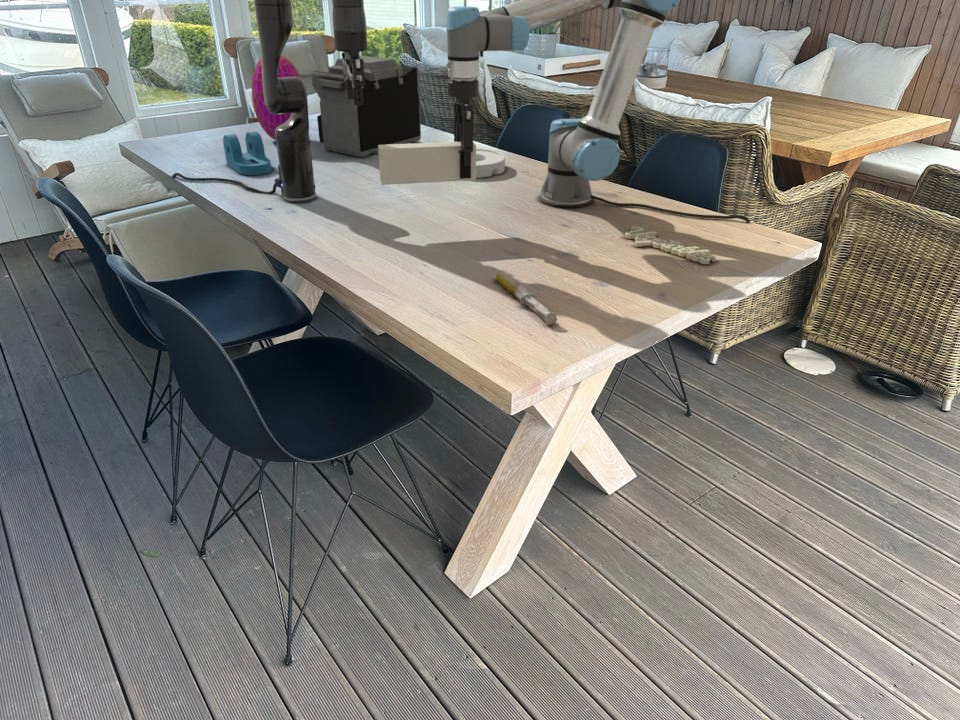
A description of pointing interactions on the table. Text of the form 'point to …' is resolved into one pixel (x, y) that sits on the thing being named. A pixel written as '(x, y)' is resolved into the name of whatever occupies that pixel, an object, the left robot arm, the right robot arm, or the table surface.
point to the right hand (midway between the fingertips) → (463, 175)
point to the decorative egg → (262, 113)
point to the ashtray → (489, 162)
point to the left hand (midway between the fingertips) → (355, 101)
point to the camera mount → (246, 154)
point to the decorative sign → (669, 245)
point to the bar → (422, 163)
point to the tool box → (368, 107)
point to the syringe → (525, 297)
